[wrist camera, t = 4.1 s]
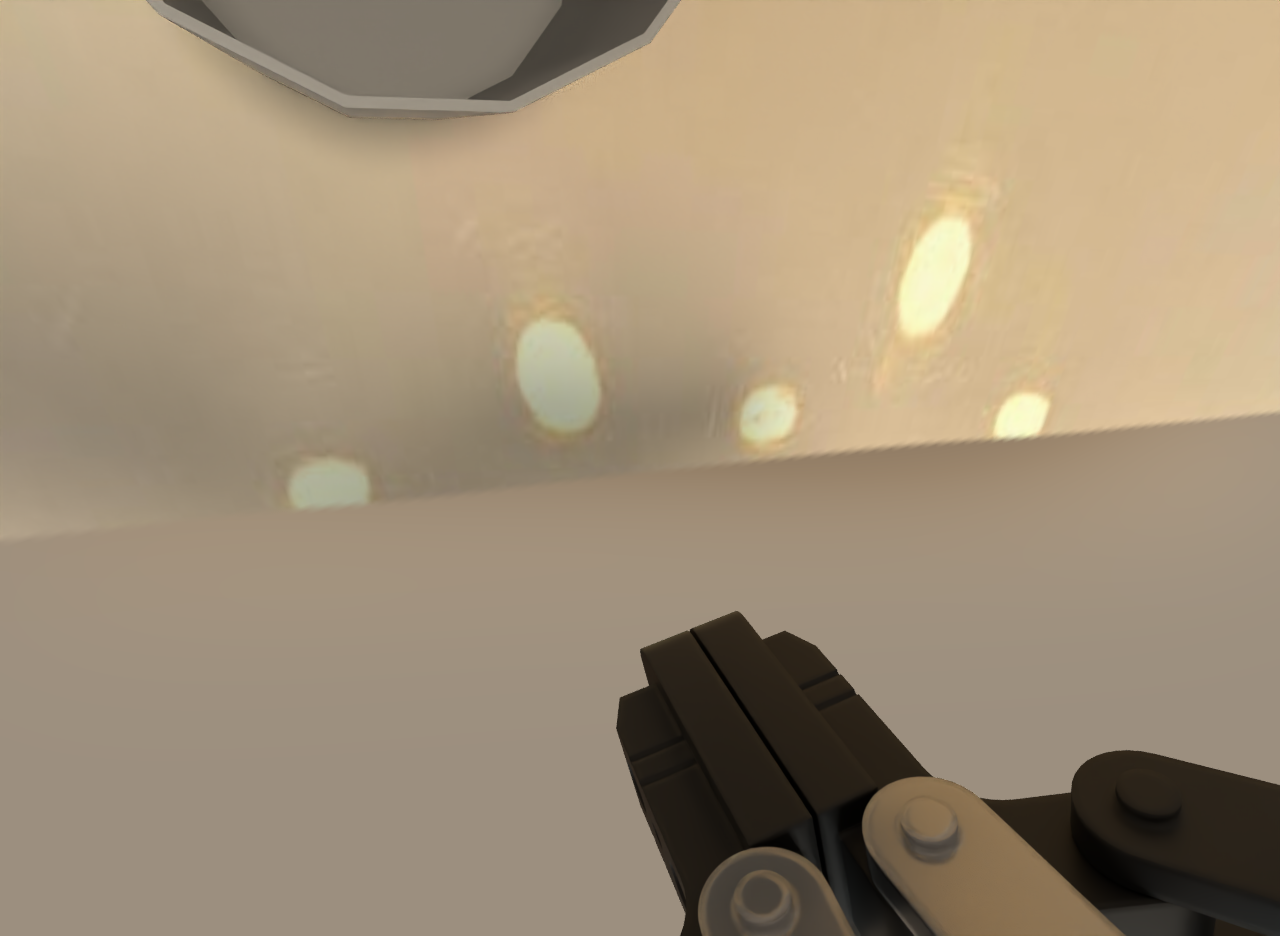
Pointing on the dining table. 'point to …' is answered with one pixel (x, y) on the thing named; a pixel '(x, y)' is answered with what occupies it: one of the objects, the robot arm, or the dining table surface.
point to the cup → (422, 48)
